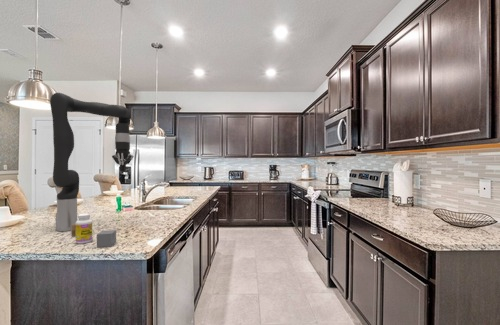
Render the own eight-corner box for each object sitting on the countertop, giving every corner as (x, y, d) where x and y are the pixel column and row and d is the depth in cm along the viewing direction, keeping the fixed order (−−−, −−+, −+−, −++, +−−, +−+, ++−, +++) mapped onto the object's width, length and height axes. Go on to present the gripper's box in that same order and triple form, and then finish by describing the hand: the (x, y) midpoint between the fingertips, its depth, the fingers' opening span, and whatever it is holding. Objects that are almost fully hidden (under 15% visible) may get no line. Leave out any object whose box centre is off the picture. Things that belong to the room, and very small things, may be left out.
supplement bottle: (79, 245, 114) (79, 216, 114) (73, 242, 117) (72, 215, 117) (95, 241, 119) (94, 214, 119) (88, 238, 123) (88, 212, 123)
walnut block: (71, 237, 126) (71, 225, 126) (77, 233, 132) (77, 222, 132) (84, 236, 128) (84, 224, 127) (90, 232, 133) (89, 221, 133)
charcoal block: (96, 248, 110) (96, 234, 110) (102, 243, 116) (102, 230, 116) (111, 247, 111) (111, 233, 111) (116, 242, 117) (116, 229, 117)
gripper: (107, 141, 142) (108, 172, 142) (128, 140, 139) (128, 172, 139) (117, 142, 149) (117, 171, 149) (137, 141, 146) (137, 171, 146)
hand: (122, 171), depth 144 cm, fingers closed
